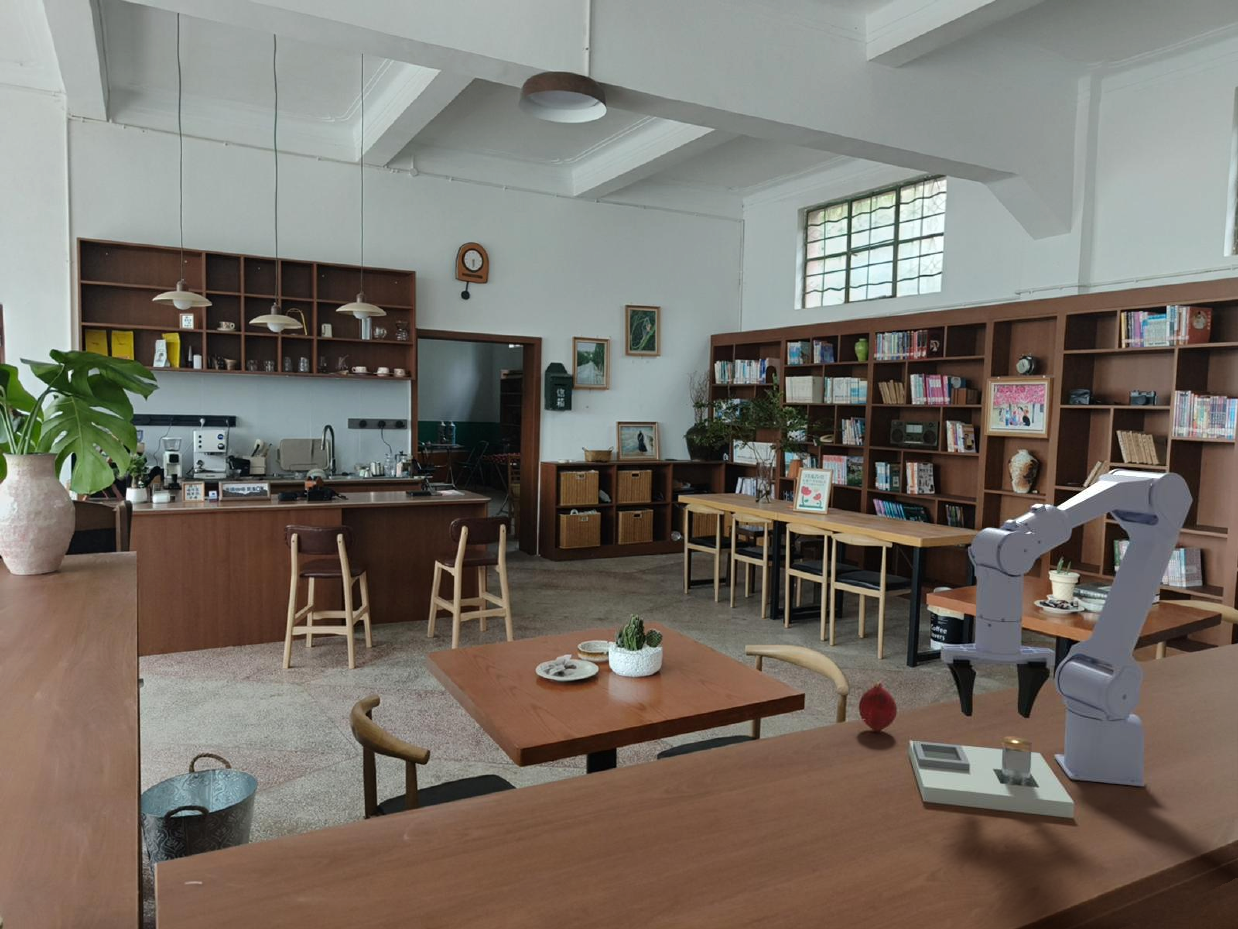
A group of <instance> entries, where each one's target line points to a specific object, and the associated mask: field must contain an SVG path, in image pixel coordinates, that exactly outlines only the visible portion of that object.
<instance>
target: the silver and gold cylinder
mask: <svg viewBox="0 0 1238 929" xmlns="http://www.w3.org/2000/svg"><path fill="white" fill-rule="evenodd" d="M1032 745H1033V744H1032V742H1031V741H1030V740H1029V739H1026V738H1024V737H1020V736H1014V735H1012V736H1011V735H1007V736H1003V737H1002V748H1001V749H1002V772H1001V784H1009V785H1019V786H1028V787H1030V770H1031V752H1032Z"/></svg>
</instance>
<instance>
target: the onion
mask: <svg viewBox="0 0 1238 929" xmlns="http://www.w3.org/2000/svg"><path fill="white" fill-rule="evenodd" d="M897 708H898V707H897V703H896V700H894V698H893V696H892V695H891V694H890V693H889V691H887V690H886V689H884V687H883V683H882V682H880V681H877V682H875V684H874V685H873V687H872V688H870V689H868V690H866V692H864V693H863V695H862V696H861V697H860V699H859V703H858V711H859V716H860V718H861V720H862V719H865V720H862V721H863V722H864V724H866V726H868V727H869V728H870V729H872V730H873V731H874V732H881V731H882V730H884V729H885V728H888V727H889V726H890V725H891V724H892V723H893V722H894V720H895V719H896V717H897V714H898V713H897Z"/></svg>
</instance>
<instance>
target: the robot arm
mask: <svg viewBox="0 0 1238 929" xmlns="http://www.w3.org/2000/svg"><path fill="white" fill-rule="evenodd" d="M1192 503H1193V497H1192V495H1191V491H1190V488H1189V486H1188V484H1187V482H1186V480H1185V478H1184V477H1182V475H1180V474H1179V473H1175V472H1165V473H1164V472H1153V471H1152V472H1151V471H1141V470H1140V471H1138V470H1128V469H1124V468H1115V469H1113V470H1112V469H1111V470H1110V471H1108V473H1105V474H1101V475H1099V476H1098V479H1097V480H1096V483H1093V484H1092V485H1091V486H1089V487H1088V488H1085V489H1084V490H1082V491H1081V492H1079V493H1078V494H1076V495H1075V496H1073V497H1071V498H1069V499H1067V501H1065V502H1063V503H1061V504H1060V505H1057V506H1054V505H1053V504H1052V505H1051V504H1041V503H1035V504H1034V505H1032V506H1030V507H1029V508H1030V511H1028V512H1026V513H1025V514H1023V515H1021V516H1019V517H1017V518H1015V519H1007V520H1005V521H1004V523H1003V525H1001V526H1000V527H999V528H995V527H986V528H983V529H982V530H980V531H979V532H978V533H977V534H976V535H975V536H974V537H973V539H972V541H971V543H970V544H971V545H970V546H968V548H967V552H968V556H969V560H970V561H971V563H972V565H973V566H974V577H976V580H977V581H976V600H975V601H976V603H975V604H976V605H975V606H976V607H975V609H976V610H975V635H974V643H965V644H953V645H951V644H950V645H948V644H947V645H941V646H940V659H941V661H942V662H944V663H945V664H946V665H947V667H948V669H949V672H950V674H951V676H952V679H953V681H954V684H955V688H956V690H957V693H958V698H959V702H960V709H961V710H960V711H961V712H962V713H963V715H964V716H965V717H972V716H973V710H974V709H973V698H974V697H973V696H974V695H973V694H974V686H975V681H976V676H977V672H976V671H975V670H974V669H973V665H972V664H971V663H982V664H983V663H984V664H985V663H986V664H987V663H988V664H989V663H991V664H1016V670H1017V678H1018V679H1017V681H1018V682H1017V683H1018V691H1017V692H1018V694H1017V713H1018V715H1020V716H1022V718H1024V719H1030V717H1031V712H1032V709H1033V706H1034V704H1035V701H1036V699H1037V696H1038V694H1039V692H1040V691H1041V689H1042V688H1043V686H1044V684H1045V683H1046V682H1047V681H1048V680H1049V678H1050V674H1051V670H1050V668H1048V667H1054V666H1055V665H1056V651H1054V650H1052V649H1051V648H1047V647H1035V646H1025V645H1022V630H1023V628H1022V627H1023V626H1022V625H1023V605H1024V604H1023V603H1024V602H1023V599H1024V578H1025V577H1024V575H1025V574H1027V573H1029V572H1030V570H1031V569H1032V568H1033V566H1034V564H1035V562H1036V560H1037V559H1038V558H1039V557H1040V556H1042V555H1043V554H1045V553H1047V552H1049V551H1051V550H1053V549H1055V548H1057V547H1058V546H1060V545H1063V543H1066V542H1068V541H1069V540H1070V538H1071V536H1072V532H1073V529H1074V528H1077V527H1078V526H1081V525H1083V524H1085V523H1088V522H1089V521H1092V520H1095V519H1096V518H1099V517H1101V516H1103V515H1105V514H1108V513H1110V514H1111V516H1112V517H1113V518H1114V519H1115V521H1116V522H1117V524H1118V525H1119V526H1120V527H1121V529H1123V530H1124V531H1126V533H1127V535H1128V537H1129V542H1128V545H1127V546H1126V547H1127V548H1126V549H1125V551H1124V552H1125V553H1124V554H1123V556H1122V560H1121V562H1120V564H1119V566H1118V569H1117V571H1116V574H1115V577H1114V579H1113V582H1112V584H1111V586H1110V588H1109V591H1108V593H1107V596H1106V598H1105V601H1104V603H1103V606H1102V609H1101V611H1100V613H1099V616H1098V618H1097V621H1096V622H1095V625H1094V627H1093V630H1092V633H1091V634H1090V635H1091V636H1090V637H1089V638H1086V639H1085V640H1082V641H1079V642H1077V643H1076V644H1072V645H1071V648H1070V649H1069V652H1068V654H1067V655H1066V657H1065V658H1064V659H1063V660H1061V662H1060V663H1059V665H1058V666H1057V668H1056V670H1055V673H1054V685H1055V689H1056V691H1057V692H1058V693H1059V695H1060V696H1062V703H1063V704H1064V705H1065V706H1066V709H1065V710H1066V714H1065V727H1064V728H1065V729H1064V730H1065V732H1064V733H1065V734H1064V754H1059V753H1058V754H1054V759H1055V760H1056V762H1058V764H1059V765H1060V767H1061V768H1062V770H1063V772H1065V774H1066V775H1067V776H1068V777H1069V779H1071V780H1074V781H1075V780H1076V781H1077V780H1079V781H1086V782H1096V783H1105V784H1117V785H1126V786H1127V785H1128V786H1134V787H1135V786H1137V787H1145V782H1144V762H1145V745H1146V744H1145V741H1146V739H1145V738H1146V737H1145V730H1144V726H1143V723H1142V720H1141V719H1140V717H1139V716H1138V715H1137V714H1134V712H1135V710H1136V709H1137V707H1138V706H1139V703H1140V699H1141V686H1142V681H1143V679H1144V676H1145V672H1144V670H1143V669H1142V668H1141V665H1139V663H1138V661H1137V660H1136V659H1135V657H1134V656H1133V652H1134V650H1135V647H1136V645H1137V643H1138V640H1139V638H1140V635H1141V632H1142V630H1143V627H1144V624H1145V623H1146V620H1147V617H1148V615H1149V613H1150V611H1151V608H1152V605H1153V603H1154V601H1155V598H1156V595H1157V593H1158V590H1159V588H1160V586H1161V583H1162V580H1163V579H1164V575H1165V573H1166V570H1167V568H1168V566H1169V563H1170V561H1171V559H1172V556H1173V553H1174V551H1175V548H1176V547H1177V543H1178V540H1179V535H1180V533H1181V531H1182V528H1183V525H1184V524H1185V521H1186V518H1187V516H1188V514H1189V511H1190V509H1191V505H1192ZM1103 665H1105V666H1108V667H1111V668H1108V667H1105V666H1103Z"/></svg>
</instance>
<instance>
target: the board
mask: <svg viewBox="0 0 1238 929" xmlns="http://www.w3.org/2000/svg"><path fill="white" fill-rule="evenodd" d="M908 742H909V744H908V755H909V759H910V761H911V762H910V763H911V764H912V768H913V772H914V775H915V778H916V781H917V785H918V788H919V792H920V795H921V798H922V801H923V803H924V802H926V803H934V804H943V805H952V806H962V807H969V808H977V809H978V808H979V809H988V810H997V811H1003V812H1004V811H1006V812H1015V813H1023V814H1034V815H1043V816H1051V817H1059V818H1060V817H1061V818H1069V819H1074V812H1075V810H1074V809H1075V802H1074V800H1073V799H1072V798H1071V796H1070V795H1069V793H1068V792H1067V791H1066V788H1065V787H1064V786H1063V784H1062V783H1061V782H1060V780H1059V779H1058V777H1057V776H1056V775H1055V773H1054V772H1053V770H1052V769H1051V767H1050V766H1049V764H1048V763H1047V761H1046V760H1045V759H1044V757H1043V756H1042V754H1041V753H1040V752H1032V751H1031V770H1030V787H1028V786H1019V785H1009V784H1001V772H1002V749H1003V748H1001V749H1000V748H993V747H992V748H991V747H981V746H969V745H960V744H951V743H949V744H948V743H938V742H931V741H930V742H929V741H928V742H927V741H919V740H908Z"/></svg>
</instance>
